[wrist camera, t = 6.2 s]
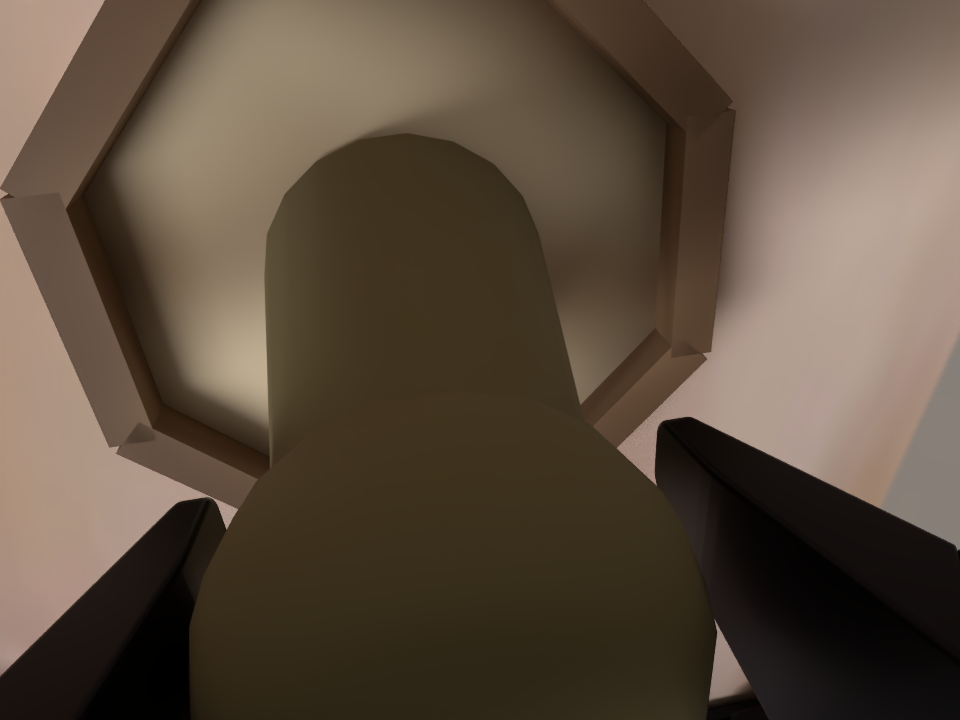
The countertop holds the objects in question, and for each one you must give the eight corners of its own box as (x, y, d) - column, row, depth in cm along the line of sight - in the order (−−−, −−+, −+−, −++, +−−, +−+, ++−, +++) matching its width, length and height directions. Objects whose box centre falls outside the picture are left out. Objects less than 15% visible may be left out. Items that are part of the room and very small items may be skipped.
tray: (676, 452, 20) (700, 488, 18) (179, 539, 18) (165, 585, 17) (722, -142, 13) (768, -156, 11) (-75, -79, 11) (-135, -86, 10)
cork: (209, 305, 15) (-56, 929, 5) (370, 65, 13) (395, 394, 3) (433, 428, 17) (517, 995, 8) (596, 245, 15) (962, 712, 6)
